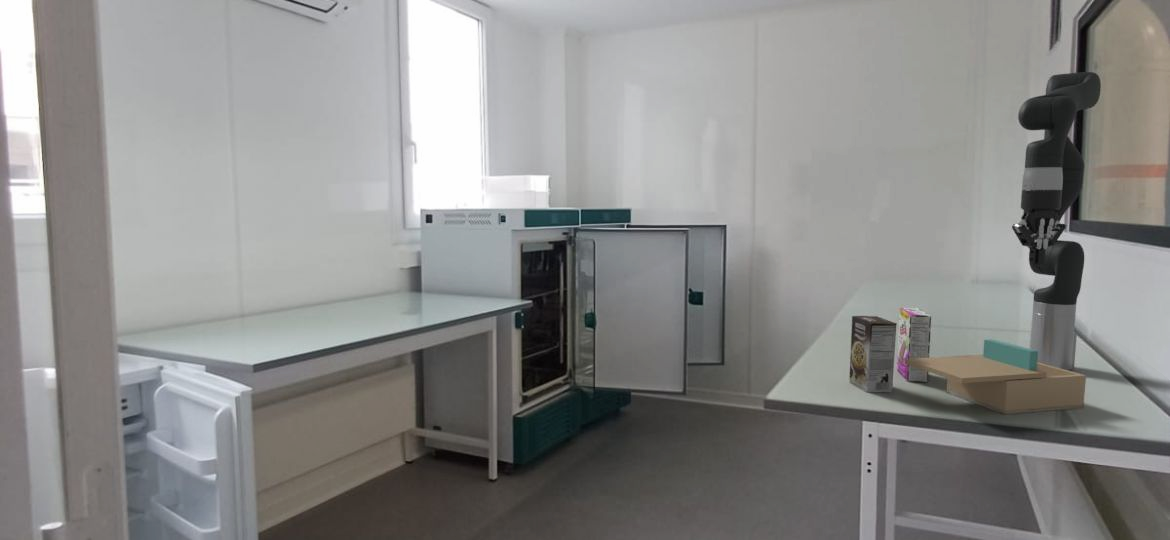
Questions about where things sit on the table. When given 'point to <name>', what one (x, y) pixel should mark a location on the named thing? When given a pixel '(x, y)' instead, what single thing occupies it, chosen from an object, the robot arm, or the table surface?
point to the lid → (984, 364)
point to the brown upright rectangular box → (872, 353)
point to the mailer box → (1026, 392)
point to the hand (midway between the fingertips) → (1036, 265)
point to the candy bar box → (913, 342)
